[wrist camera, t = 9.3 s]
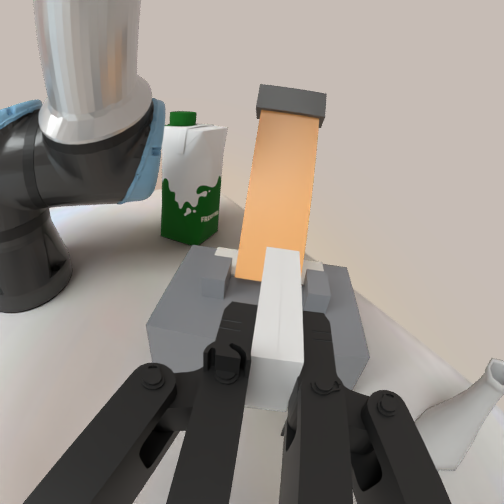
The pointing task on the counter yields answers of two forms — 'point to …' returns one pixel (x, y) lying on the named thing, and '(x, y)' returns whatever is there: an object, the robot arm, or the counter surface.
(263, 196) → the lever
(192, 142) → the milk carton
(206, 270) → the switch box
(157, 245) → the counter surface
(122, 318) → the counter surface
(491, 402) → the flask
